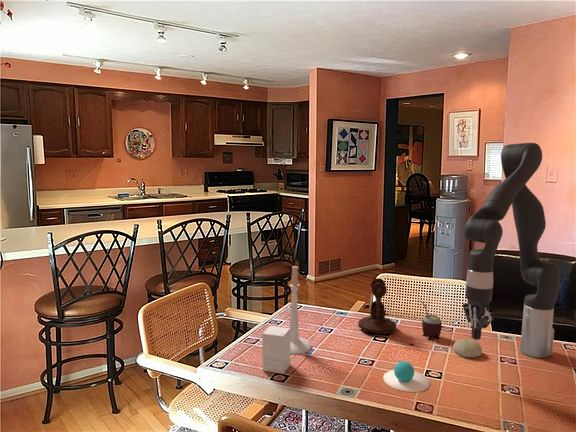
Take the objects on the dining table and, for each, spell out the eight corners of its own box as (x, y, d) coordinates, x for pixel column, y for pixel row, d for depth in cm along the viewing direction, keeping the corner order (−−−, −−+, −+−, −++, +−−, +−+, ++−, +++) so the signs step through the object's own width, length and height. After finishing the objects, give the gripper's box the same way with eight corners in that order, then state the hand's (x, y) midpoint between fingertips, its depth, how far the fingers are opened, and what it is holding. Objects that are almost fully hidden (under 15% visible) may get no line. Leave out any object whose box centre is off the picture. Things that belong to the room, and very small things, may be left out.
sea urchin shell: (487, 355, 158) (470, 338, 158) (468, 369, 160) (452, 352, 160) (481, 344, 167) (465, 328, 167) (464, 357, 169) (448, 341, 169)
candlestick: (270, 350, 164) (270, 267, 159) (284, 337, 175) (285, 259, 171) (304, 356, 159) (305, 271, 155) (316, 342, 171) (318, 263, 166)
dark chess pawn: (357, 321, 192) (359, 274, 190) (394, 324, 190) (396, 276, 188) (358, 335, 178) (360, 285, 175) (397, 338, 176) (400, 287, 173)
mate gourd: (442, 336, 178) (445, 298, 176) (437, 343, 172) (439, 304, 170) (423, 332, 182) (425, 295, 180) (417, 338, 176) (419, 300, 173)
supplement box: (290, 364, 153) (291, 328, 151) (283, 374, 146) (283, 336, 144) (270, 361, 155) (270, 324, 154) (261, 370, 149) (261, 333, 147)
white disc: (416, 368, 152) (416, 367, 152) (438, 389, 138) (438, 389, 138) (376, 371, 149) (376, 371, 149) (395, 394, 135) (395, 393, 135)
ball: (409, 357, 146) (391, 359, 145) (417, 364, 140) (398, 366, 139) (409, 376, 146) (391, 377, 146) (417, 384, 140) (398, 385, 140)
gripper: (504, 290, 135) (500, 346, 138) (477, 277, 148) (474, 329, 151) (481, 291, 134) (477, 348, 136) (456, 279, 147) (453, 331, 149)
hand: (475, 338), depth 143 cm, fingers closed
